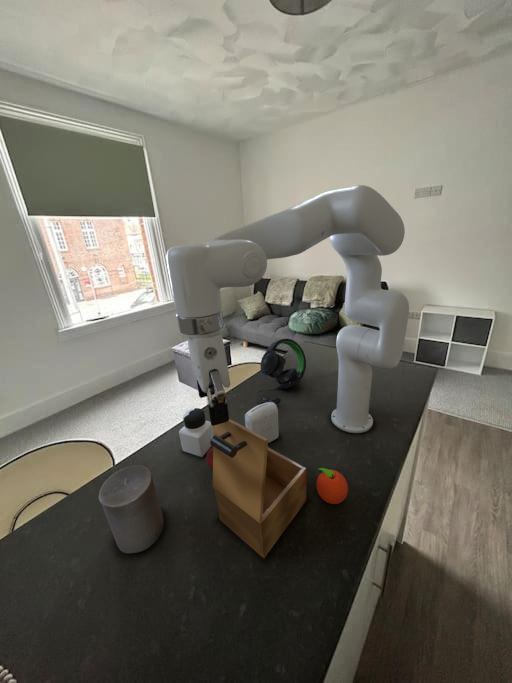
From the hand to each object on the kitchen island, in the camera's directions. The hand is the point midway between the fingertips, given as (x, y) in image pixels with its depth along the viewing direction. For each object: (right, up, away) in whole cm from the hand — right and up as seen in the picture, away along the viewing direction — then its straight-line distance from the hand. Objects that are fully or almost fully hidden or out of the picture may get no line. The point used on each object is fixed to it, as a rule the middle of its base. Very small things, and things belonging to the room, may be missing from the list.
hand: (213, 408), depth 53 cm
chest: (+10, -25, +10) cm, 29 cm away
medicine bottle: (-9, -19, +30) cm, 36 cm away
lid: (+5, -10, -1) cm, 11 cm away
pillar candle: (-17, -28, +7) cm, 34 cm away
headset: (+19, -6, +56) cm, 59 cm away
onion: (-2, -21, +22) cm, 30 cm away
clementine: (+25, -23, +12) cm, 36 cm away
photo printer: (+10, -17, +30) cm, 36 cm away
